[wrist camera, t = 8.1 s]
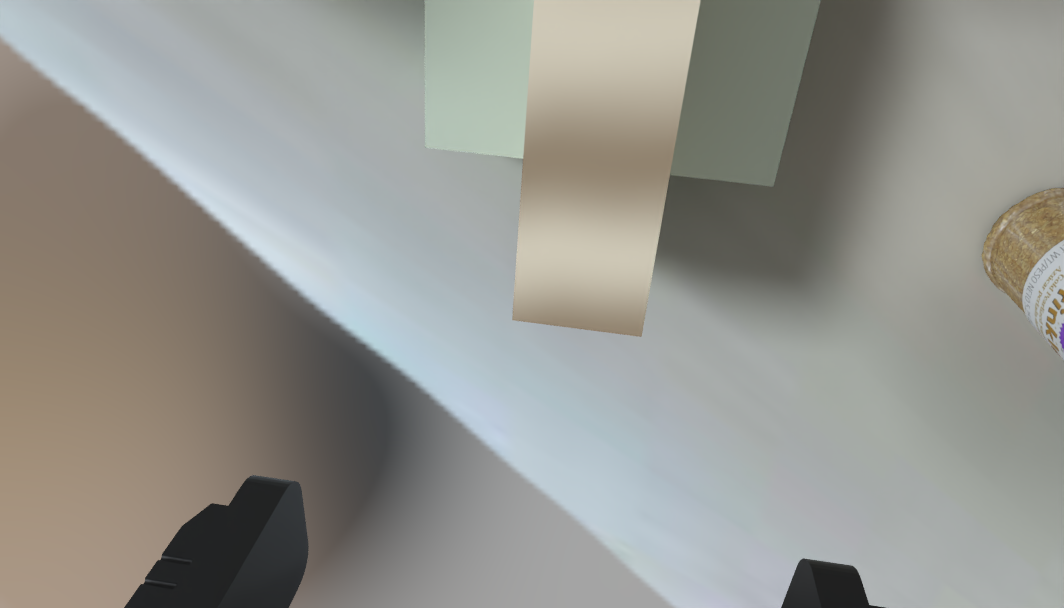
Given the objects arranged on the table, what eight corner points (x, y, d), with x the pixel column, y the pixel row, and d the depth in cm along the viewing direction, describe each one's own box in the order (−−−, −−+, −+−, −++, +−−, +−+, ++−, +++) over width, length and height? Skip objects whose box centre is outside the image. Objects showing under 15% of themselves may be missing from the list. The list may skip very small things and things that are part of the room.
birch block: (561, -107, 21) (541, -105, 17) (700, -95, 21) (716, -90, 16) (533, 250, 27) (512, 320, 22) (641, 263, 26) (641, 336, 22)
